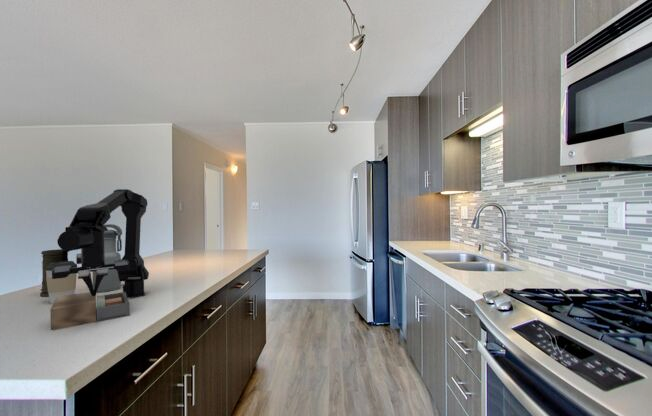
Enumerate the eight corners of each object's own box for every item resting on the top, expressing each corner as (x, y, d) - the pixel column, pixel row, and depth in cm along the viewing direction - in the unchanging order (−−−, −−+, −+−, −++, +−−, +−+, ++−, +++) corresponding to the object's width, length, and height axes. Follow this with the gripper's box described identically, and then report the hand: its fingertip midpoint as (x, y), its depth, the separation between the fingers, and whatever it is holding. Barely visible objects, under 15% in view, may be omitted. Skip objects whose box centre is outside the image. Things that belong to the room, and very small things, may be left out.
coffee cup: (59, 298, 114) (58, 259, 114) (84, 297, 114) (83, 259, 114) (38, 305, 105) (37, 264, 105) (65, 304, 105) (64, 263, 105)
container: (35, 296, 117) (34, 251, 117) (62, 290, 125) (62, 248, 125) (48, 298, 113) (47, 252, 114) (75, 291, 122) (74, 249, 122)
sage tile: (97, 312, 94) (104, 310, 96) (96, 316, 90) (104, 314, 92) (97, 296, 94) (104, 295, 96) (96, 300, 90) (104, 299, 92)
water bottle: (124, 285, 132) (123, 223, 132) (119, 290, 123) (118, 224, 123) (96, 288, 127) (95, 224, 127) (89, 293, 119) (88, 225, 119)
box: (125, 302, 106) (125, 291, 106) (129, 315, 93) (129, 303, 93) (97, 307, 101) (96, 296, 101) (97, 322, 88) (96, 308, 88)
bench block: (95, 308, 101) (95, 290, 101) (95, 321, 88) (95, 302, 88) (56, 315, 95) (56, 296, 95) (50, 330, 82) (50, 309, 82)
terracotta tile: (103, 300, 101) (103, 305, 101) (103, 303, 97) (103, 309, 97) (121, 297, 104) (121, 302, 104) (121, 300, 100) (122, 306, 100)
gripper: (126, 241, 104) (127, 285, 104) (55, 246, 92) (56, 295, 92) (129, 244, 95) (130, 292, 95) (51, 250, 83) (52, 304, 83)
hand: (93, 295), depth 92 cm, fingers closed
